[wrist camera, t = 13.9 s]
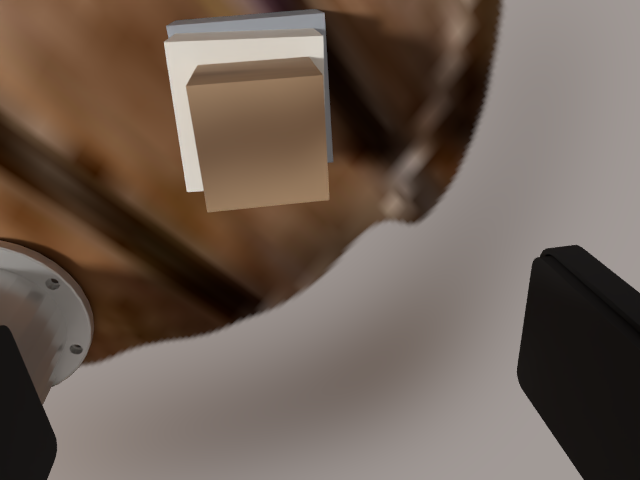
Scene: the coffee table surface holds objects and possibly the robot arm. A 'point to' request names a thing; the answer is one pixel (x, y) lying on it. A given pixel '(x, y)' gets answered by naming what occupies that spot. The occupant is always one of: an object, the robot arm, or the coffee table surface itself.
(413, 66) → the coffee table surface
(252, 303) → the coffee table surface
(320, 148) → the walnut cube
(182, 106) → the tower top
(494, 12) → the coffee table surface
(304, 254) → the coffee table surface
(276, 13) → the tower base
